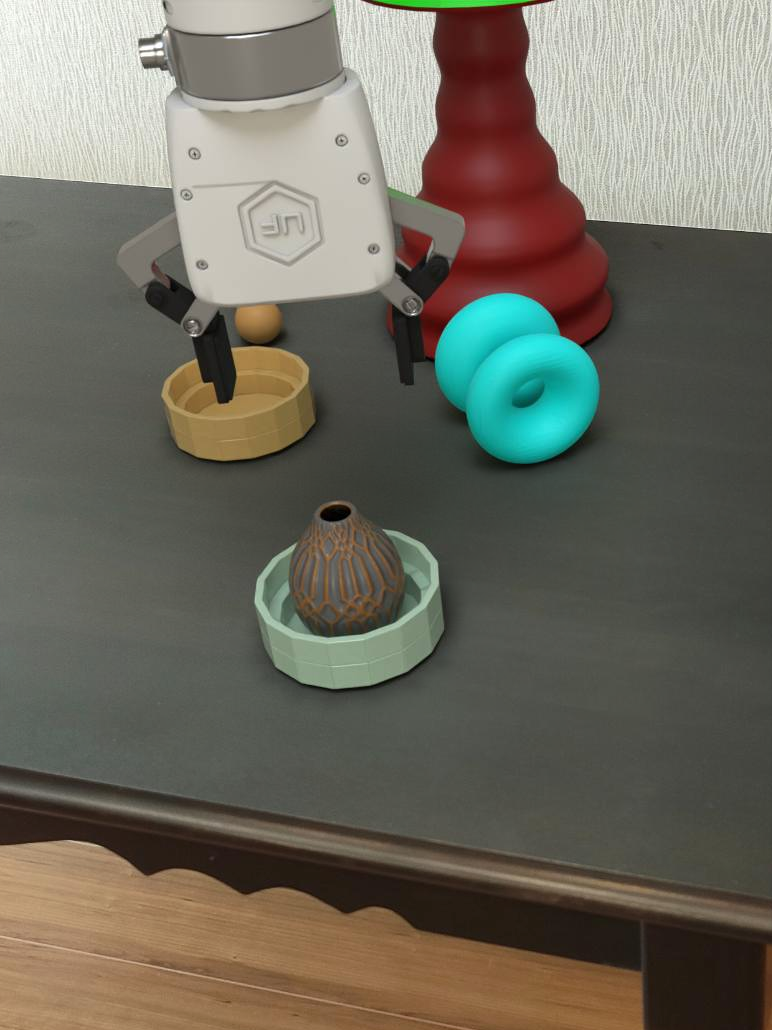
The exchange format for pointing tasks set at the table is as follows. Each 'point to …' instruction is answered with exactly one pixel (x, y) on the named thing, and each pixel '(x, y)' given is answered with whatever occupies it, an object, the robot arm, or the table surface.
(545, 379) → the donuts
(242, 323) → the figurine
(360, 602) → the vase
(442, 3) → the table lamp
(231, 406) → the far bowl
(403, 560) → the near bowl
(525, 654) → the table surface
